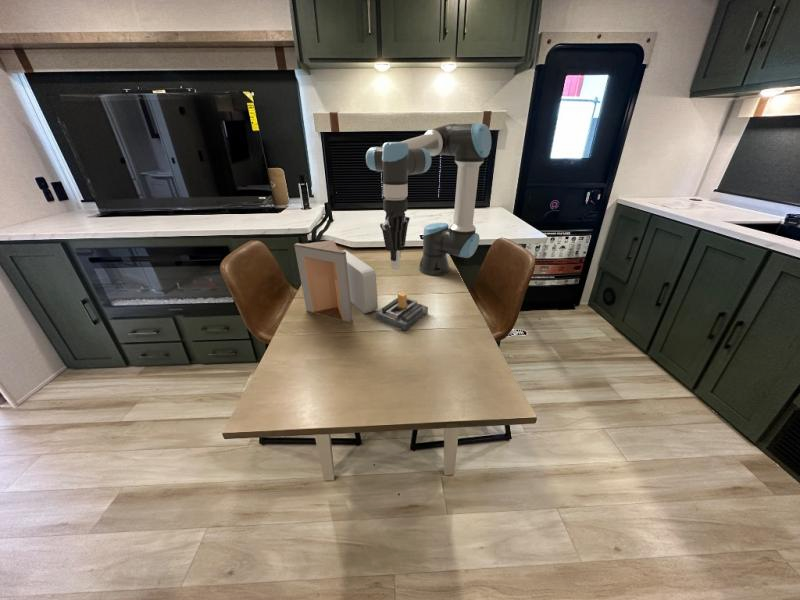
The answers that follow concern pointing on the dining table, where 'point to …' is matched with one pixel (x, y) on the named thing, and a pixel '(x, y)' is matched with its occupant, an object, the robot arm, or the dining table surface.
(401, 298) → the breaker lever
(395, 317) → the frame
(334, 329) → the dining table surface
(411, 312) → the grey slider track plate
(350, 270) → the rounded white slab
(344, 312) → the cabinet
